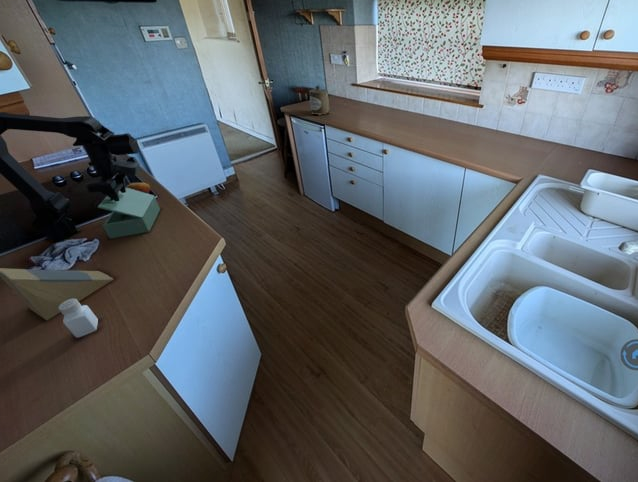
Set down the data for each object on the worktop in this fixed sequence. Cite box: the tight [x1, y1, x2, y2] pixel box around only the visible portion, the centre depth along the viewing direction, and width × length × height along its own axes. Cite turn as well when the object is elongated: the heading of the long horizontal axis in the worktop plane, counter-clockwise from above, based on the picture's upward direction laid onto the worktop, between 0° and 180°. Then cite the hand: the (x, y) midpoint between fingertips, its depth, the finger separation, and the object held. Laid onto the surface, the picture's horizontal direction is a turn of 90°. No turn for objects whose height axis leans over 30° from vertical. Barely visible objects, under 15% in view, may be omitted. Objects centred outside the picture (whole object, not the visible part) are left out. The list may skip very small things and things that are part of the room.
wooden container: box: [308, 85, 330, 113], centre depth 236 cm, size 15×15×22 cm
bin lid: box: [97, 182, 155, 218], centre depth 105 cm, size 12×16×5 cm
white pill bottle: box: [58, 299, 99, 339], centre depth 70 cm, size 4×4×10 cm
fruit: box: [125, 182, 151, 194], centre depth 124 cm, size 8×8×8 cm
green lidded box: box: [102, 196, 161, 239], centre depth 109 cm, size 12×16×6 cm
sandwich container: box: [0, 267, 114, 321], centre depth 78 cm, size 9×15×15 cm, turn 156°
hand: (120, 196), depth 104 cm, fingers closed on bin lid, 6 cm apart
